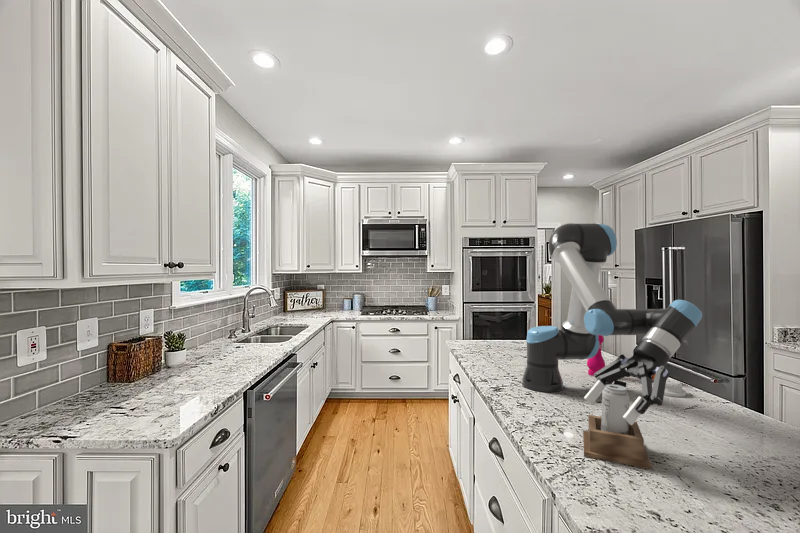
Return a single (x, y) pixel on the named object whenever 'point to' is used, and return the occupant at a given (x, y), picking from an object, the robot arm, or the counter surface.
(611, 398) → the energy drink can
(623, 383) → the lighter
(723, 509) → the counter surface
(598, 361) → the pepper mill
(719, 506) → the counter surface
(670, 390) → the mechanical component
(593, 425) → the walnut socket
